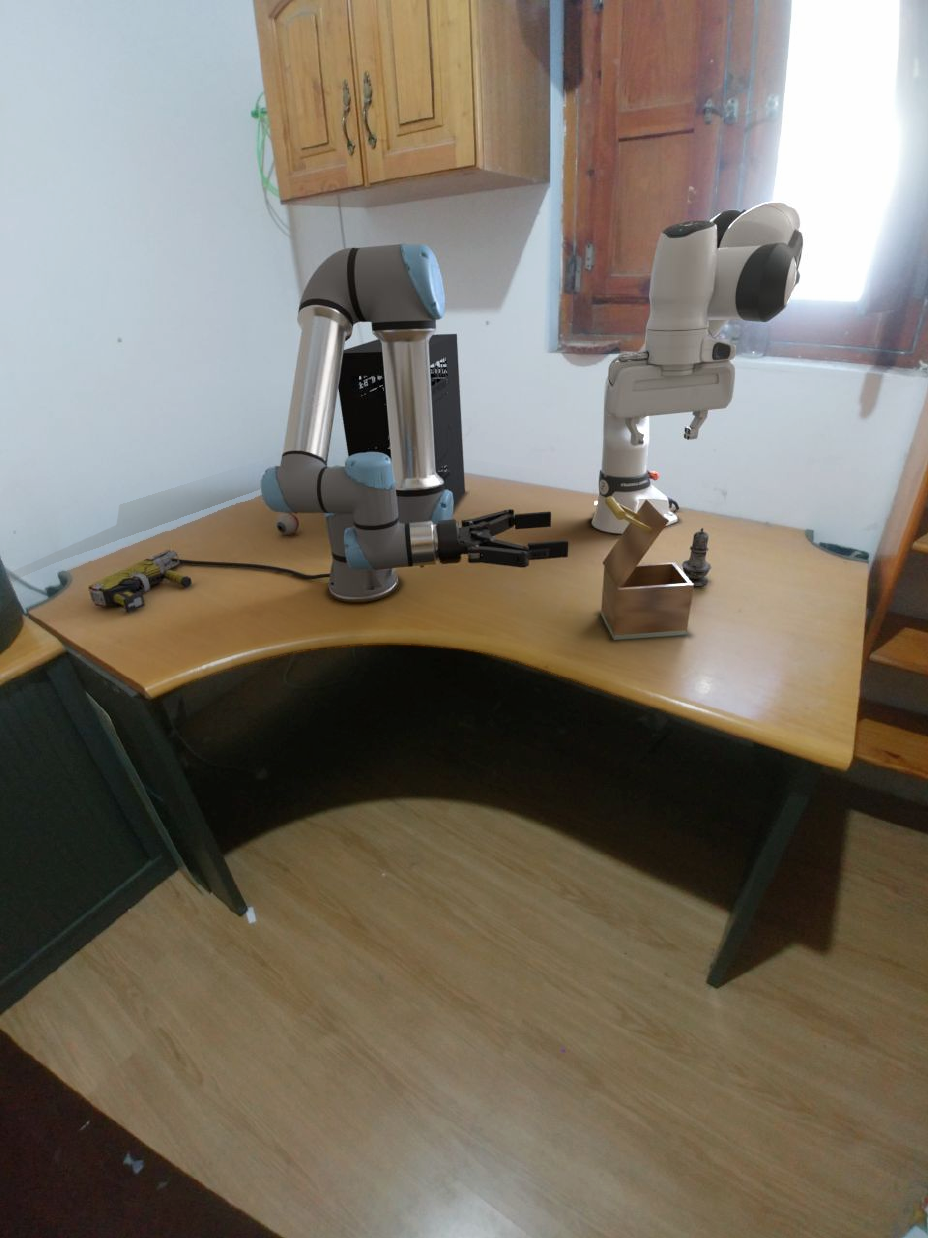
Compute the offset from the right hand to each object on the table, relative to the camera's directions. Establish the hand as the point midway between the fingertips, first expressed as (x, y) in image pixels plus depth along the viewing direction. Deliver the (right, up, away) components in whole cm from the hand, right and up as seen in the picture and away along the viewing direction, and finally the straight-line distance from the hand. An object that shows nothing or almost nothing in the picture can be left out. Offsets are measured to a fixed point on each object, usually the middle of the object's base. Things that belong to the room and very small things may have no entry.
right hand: (663, 441), depth 98 cm
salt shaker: (+17, -21, +31) cm, 41 cm away
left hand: (-16, -14, +6) cm, 22 cm away
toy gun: (-104, -22, +41) cm, 114 cm away
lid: (-2, -16, +9) cm, 18 cm away
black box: (-46, +2, +77) cm, 90 cm away
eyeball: (-80, -6, +67) cm, 105 cm away
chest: (+1, -30, +17) cm, 34 cm away
